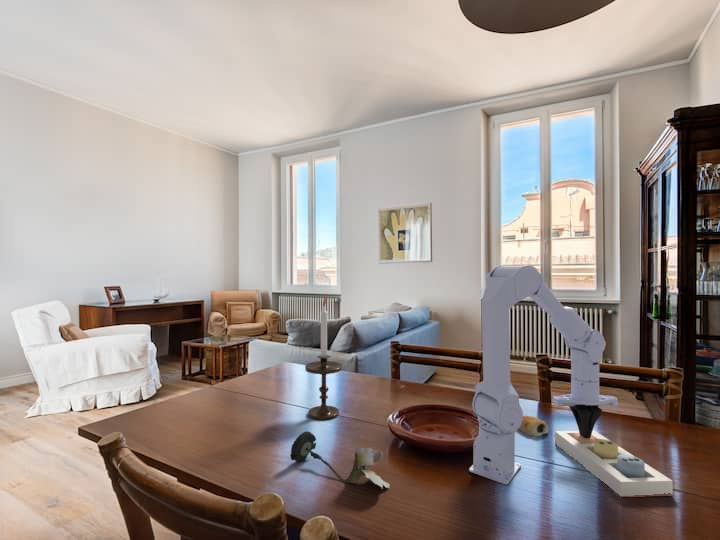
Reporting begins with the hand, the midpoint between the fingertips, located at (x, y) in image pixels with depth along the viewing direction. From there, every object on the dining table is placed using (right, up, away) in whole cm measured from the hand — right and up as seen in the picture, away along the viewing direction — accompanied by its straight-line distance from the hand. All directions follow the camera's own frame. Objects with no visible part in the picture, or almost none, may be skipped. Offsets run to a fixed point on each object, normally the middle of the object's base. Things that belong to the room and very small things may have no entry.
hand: (584, 436), depth 87 cm
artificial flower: (-57, -4, -10) cm, 58 cm away
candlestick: (-64, -4, +22) cm, 68 cm away
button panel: (0, -3, -7) cm, 8 cm away
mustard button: (0, -1, -7) cm, 7 cm away
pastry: (-8, -4, +12) cm, 15 cm away
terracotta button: (0, -3, 0) cm, 3 cm away
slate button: (+1, -1, -14) cm, 14 cm away
